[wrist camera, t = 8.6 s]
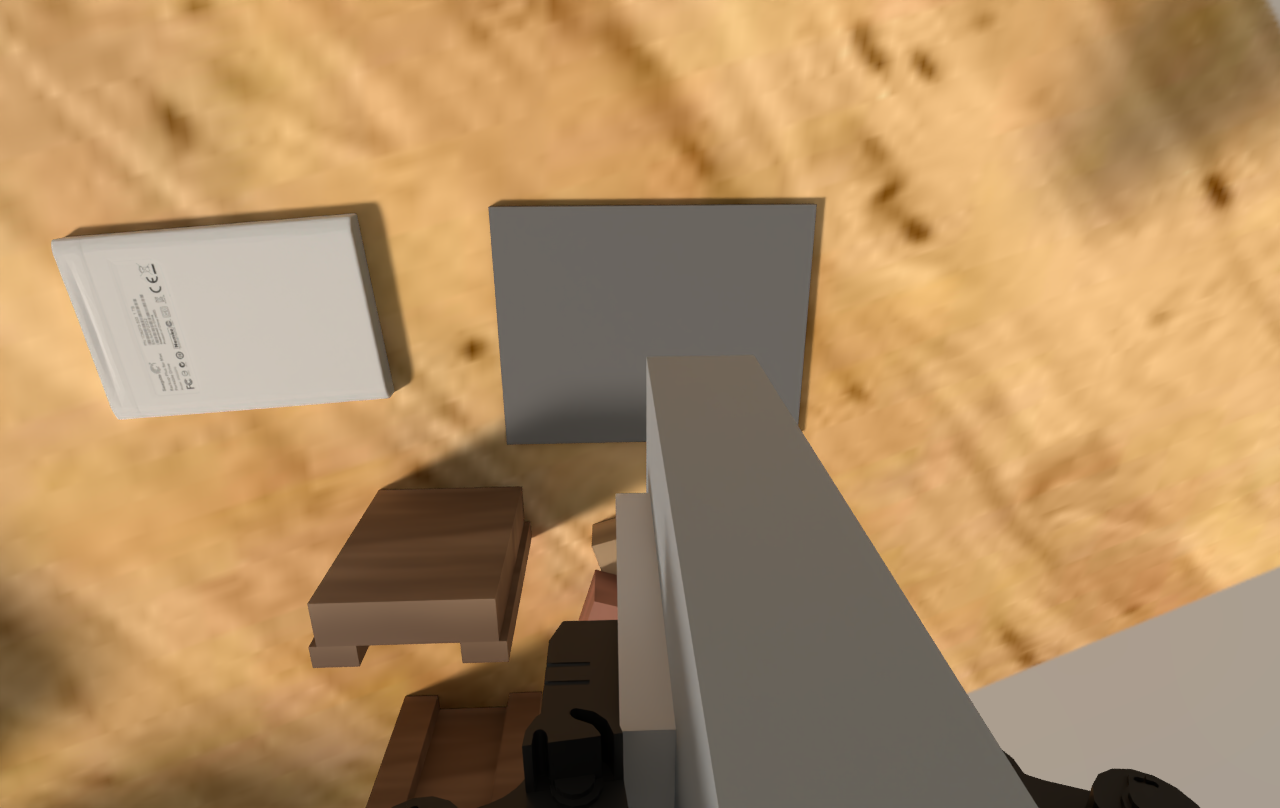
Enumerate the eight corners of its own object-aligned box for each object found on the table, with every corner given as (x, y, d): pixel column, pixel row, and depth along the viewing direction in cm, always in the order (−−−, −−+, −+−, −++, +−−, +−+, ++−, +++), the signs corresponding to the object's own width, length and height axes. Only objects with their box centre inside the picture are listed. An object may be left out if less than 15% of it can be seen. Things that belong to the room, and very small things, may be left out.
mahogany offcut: (579, 618, 36) (577, 652, 34) (595, 569, 35) (594, 601, 33) (709, 647, 37) (716, 682, 35) (729, 601, 36) (737, 634, 34)
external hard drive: (398, 388, 34) (135, 409, 34) (360, 211, 31) (72, 234, 31) (388, 400, 32) (113, 423, 32) (347, 216, 29) (44, 240, 29)
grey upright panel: (646, 356, 16) (735, 907, 5) (753, 355, 16) (1090, 890, 5) (646, 647, 19) (701, 1414, 8) (736, 644, 19) (922, 1399, 8)
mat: (490, 206, 30) (488, 207, 30) (814, 203, 31) (816, 204, 31) (508, 441, 34) (507, 444, 34) (794, 435, 35) (797, 438, 35)
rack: (372, 490, 35) (299, 604, 27) (527, 486, 35) (502, 598, 27) (411, 737, 41) (361, 894, 33) (544, 732, 41) (528, 887, 33)
